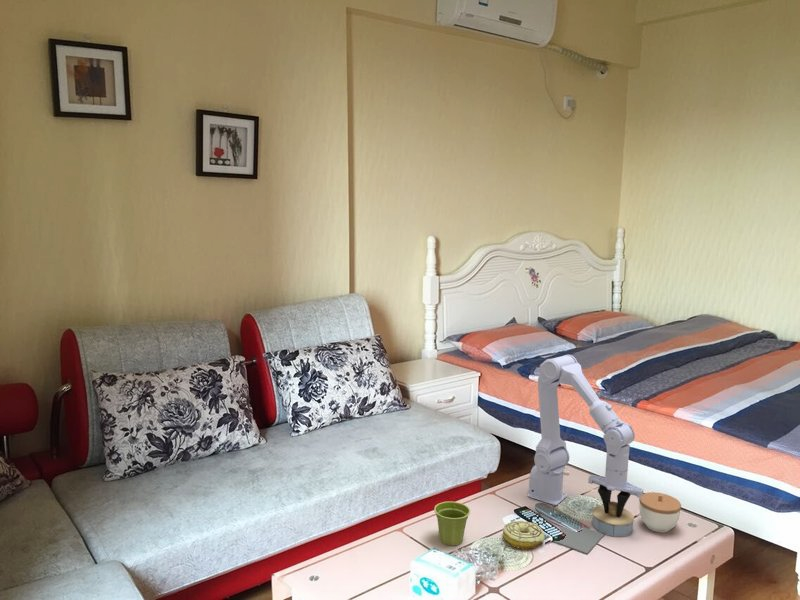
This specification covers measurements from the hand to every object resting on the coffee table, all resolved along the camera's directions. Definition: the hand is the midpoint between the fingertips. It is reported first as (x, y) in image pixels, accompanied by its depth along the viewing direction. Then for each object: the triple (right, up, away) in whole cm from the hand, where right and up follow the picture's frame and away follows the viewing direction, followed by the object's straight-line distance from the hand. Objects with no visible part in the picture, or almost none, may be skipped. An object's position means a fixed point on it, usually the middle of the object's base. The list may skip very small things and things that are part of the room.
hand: (613, 513), depth 180 cm
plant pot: (-45, -5, -7) cm, 46 cm away
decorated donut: (-26, -5, -7) cm, 28 cm away
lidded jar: (+13, -4, +1) cm, 13 cm away
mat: (-12, -5, -5) cm, 14 cm away
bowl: (0, -4, +1) cm, 4 cm away
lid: (0, -1, 0) cm, 1 cm away
